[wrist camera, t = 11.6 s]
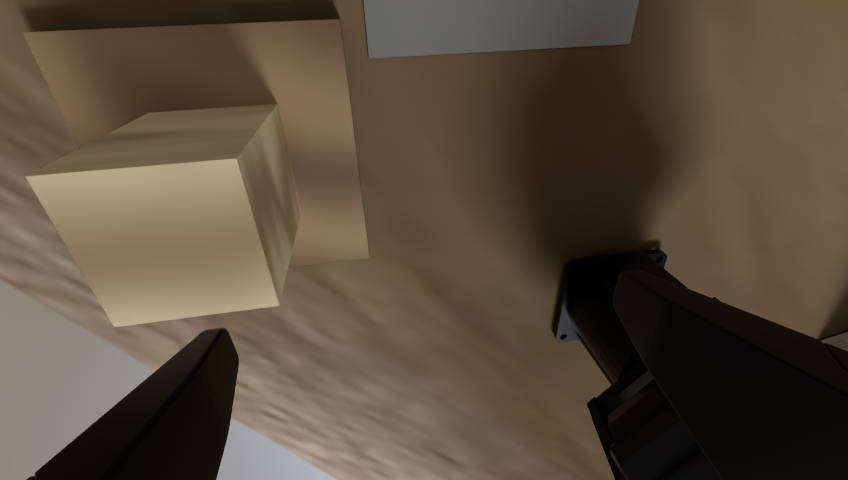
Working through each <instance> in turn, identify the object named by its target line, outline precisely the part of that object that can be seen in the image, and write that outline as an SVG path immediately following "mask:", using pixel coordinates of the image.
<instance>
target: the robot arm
mask: <svg viewBox="0 0 848 480" xmlns="http://www.w3.org/2000/svg"><path fill="white" fill-rule="evenodd" d="M666 259H667V255H666V254H665V253H664V252H663V251H661V250H650V251H639V252H631V253H623V254H615V255H607V256H602V257H594V258H586V259H578V260H573V261H571V262H569V263H568V264H567V266H566V269H565V275H564V280H563V286H562V291H561V296H560V302H559V307H558V313H557V318H556V324H555V329H554V337H555V338H556V340H557V341H558V342H566V341H573V340H579V339H580V341H581V342H582V344H583V345H584V346H585V348H586V349H587V351H588V352H589V354H590V355H591V357H592V358H593V359H594V361H595V362H596V364H597V365H598V367H599V368H600V369H601V371H602V372H603V374H604V375H605V377H606V378H607V379H608V381H609V382H610V384H611V386H610V387H609V388H608V389H606V390H605V391H604V392H603V393H602V394H600V395H599V396H598V397H597V398H595V397H594V398H593V399H592V400H590V401H589V402H588V403H587V406H588V408H589V411H590V413H591V416H592V420H593V423H594V425H595V428H596V431H597V433H598V436H599V438H600V441H601V444H602V446H603V449H604V451H605V454H606V457H607V459H608V462H609V464H610V467H611V470H612V472H613V475H614V477H615V480H848V351H846V350H844V349H841V348H838V347H836V346H833V345H831V344H828V343H823V342H822V341H820V340H818V339H815V338H813V337H810V336H808V335H805V334H802V333H800V332H797V331H795V330H792V329H790V328H787V327H784V326H782V325H779V324H777V323H774V322H772V321H769V320H766V319H764V318H761V317H759V316H756V315H754V314H751V313H749V312H746V311H743V310H741V309H738V308H736V307H733V306H731V305H728V304H725V303H723V302H720V301H719V300H718V299H717V298H715V297H714V298H710V297H708V296H705V295H702V294H700V293H697V292H695V291H692V290H690V289H688V288H687V287H686V286H684V285H683V284H682V283H681V282H680V281H678V280H677V279H676V278H675V277H673V276H672V275H671V274H670V273H669V272H667V271H666V270H665V269H664V265H665V262H666ZM575 267H577V268H576V269H575V270H573V269H574V268H575ZM238 366H239V359H238V354H237V351H236V349H235V347H234V344H233V342H232V339H231V337H230V335H229V332H228V331H227V330H226V329H225V328H216V329H209V330H205V331H203V332H202V333H200V334H199V335H198V336H197V337H196V338H194V339H193V340H192V341H191V342H190V343H189V344H187V345H186V346H185V347H184V348H183V349H181V350H180V351H179V352H178V353H177V354H175V355H174V356H173V357H172V358H171V359H170V360H168V361H167V362H166V363H165V364H164V365H162V366H161V367H160V368H159V369H158V370H156V371H155V372H154V373H153V374H152V375H151V376H149V377H148V378H147V379H146V380H145V381H143V382H142V383H141V384H140V385H139V386H137V387H136V388H135V389H134V390H133V391H132V392H130V393H129V394H128V395H127V396H126V397H124V398H123V399H122V400H121V401H120V402H118V403H117V404H116V405H115V406H114V407H113V408H111V409H110V410H109V411H108V412H107V413H106V414H104V415H103V416H102V417H101V418H99V419H98V420H97V421H96V422H95V423H93V424H92V425H91V426H90V427H89V428H88V429H87V430H85V431H84V432H83V433H82V434H80V435H79V436H78V437H77V438H76V439H74V440H73V441H72V442H71V443H70V444H68V445H67V446H66V447H65V448H64V449H63V450H61V452H59V453H58V454H57V455H55V456H54V457H53V458H52V459H51V460H49V461H48V462H47V463H46V464H45V465H44V466H42V467H41V468H40V469H39V470H38V471H37V472H36V473H35V476H32V477H29V478H28V479H27V480H216V478H217V474H218V470H219V466H220V463H221V459H222V455H223V452H224V448H225V444H226V440H227V436H228V431H229V426H230V420H231V413H232V407H233V400H234V393H235V386H236V380H237V373H238Z"/></svg>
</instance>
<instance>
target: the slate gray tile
mask: <svg viewBox="0 0 848 480" xmlns="http://www.w3.org/2000/svg"><path fill="white" fill-rule="evenodd" d="M363 2H364V13H365V23H366V34H367V44H368V54H369V58H384V57H402V56H421V55H439V54H457V53H476V52H494V51H512V50H531V49H549V48H567V47H586V46H604V45H622V44H630V41H631V37H632V32H633V27H634V22H635V18H636V13H637V8H638V3H639V0H363Z"/></svg>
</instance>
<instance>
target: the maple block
mask: <svg viewBox="0 0 848 480" xmlns="http://www.w3.org/2000/svg"><path fill="white" fill-rule="evenodd" d="M25 177H26V179H27V180H28V182H29V184H30V185H31V187H32V189H33V190H34V192H35V194H36V195H37V197H38V199H39V201H40V202H41V204H42V206H43V207H44V209H45V211H46V212H47V214H48V216H49V217H50V219H51V221H52V223H53V224H54V226H55V228H56V229H57V231H58V233H59V234H60V236H61V238H62V239H63V241H64V243H65V245H66V246H67V248H68V250H69V251H70V253H71V255H72V256H73V258H74V260H75V261H76V263H77V265H78V266H79V268H80V270H81V272H82V273H83V275H84V277H85V278H86V280H87V282H88V283H89V285H90V287H91V288H92V290H93V292H94V294H95V295H96V297H97V299H98V300H99V302H100V304H101V305H102V307H103V309H104V310H105V312H106V314H107V316H108V317H109V319H110V321H111V322H112V324H113V326H114V327H119V326H127V325H134V324H142V323H150V322H157V321H165V320H173V319H180V318H188V317H196V316H203V315H211V314H219V313H226V312H234V311H242V310H249V309H257V308H265V307H272V306H279V305H280V301H281V296H282V292H283V288H284V284H285V279H286V275H287V271H288V267H289V262H290V258H291V254H292V250H293V245H294V241H295V237H296V233H297V228H298V224H299V220H300V216H301V208H300V203H299V199H298V194H297V189H296V185H295V180H294V176H293V171H292V167H291V162H290V158H289V153H288V148H287V144H286V139H285V135H284V130H283V126H282V121H281V117H280V112H279V107H278V104H267V105H253V106H239V107H225V108H210V109H196V110H182V111H168V112H153V113H147V114H145V115H143V116H141V117H139V118H137V119H136V120H134V121H132V122H130V123H128V124H126V125H124V126H122V127H120V128H118V129H116V130H114V131H112V132H110V133H108V134H107V135H105V136H103V137H101V138H99V139H97V140H95V141H93V142H91V143H89V144H87V145H85V146H83V147H81V148H79V149H77V150H76V151H74V152H72V153H70V154H68V155H66V156H64V157H62V158H60V159H58V160H56V161H54V162H52V163H50V164H48V165H47V166H45V167H43V168H41V169H39V170H37V171H35V172H33V173H31V174H29V175H27V176H25Z"/></svg>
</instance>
